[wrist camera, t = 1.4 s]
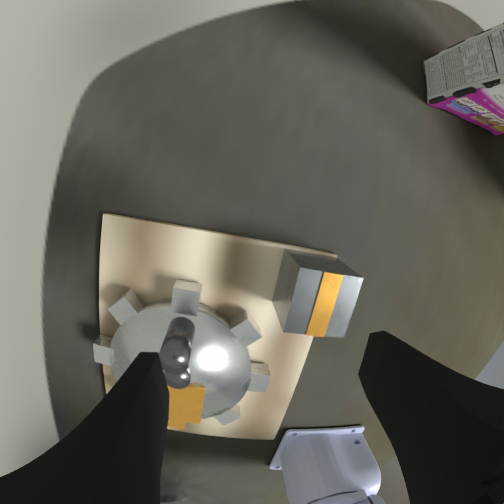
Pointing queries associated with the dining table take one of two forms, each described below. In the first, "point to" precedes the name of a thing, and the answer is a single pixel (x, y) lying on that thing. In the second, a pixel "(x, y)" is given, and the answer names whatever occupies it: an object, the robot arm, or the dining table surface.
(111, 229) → the base board
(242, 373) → the sprocket
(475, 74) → the candy bar box
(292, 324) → the link block
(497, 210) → the dining table surface
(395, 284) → the dining table surface
